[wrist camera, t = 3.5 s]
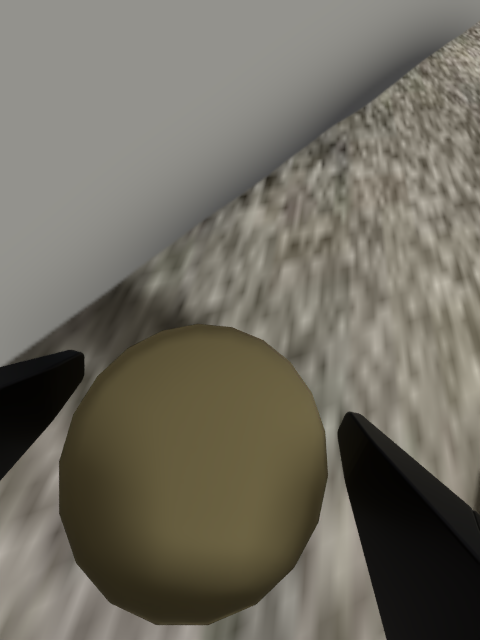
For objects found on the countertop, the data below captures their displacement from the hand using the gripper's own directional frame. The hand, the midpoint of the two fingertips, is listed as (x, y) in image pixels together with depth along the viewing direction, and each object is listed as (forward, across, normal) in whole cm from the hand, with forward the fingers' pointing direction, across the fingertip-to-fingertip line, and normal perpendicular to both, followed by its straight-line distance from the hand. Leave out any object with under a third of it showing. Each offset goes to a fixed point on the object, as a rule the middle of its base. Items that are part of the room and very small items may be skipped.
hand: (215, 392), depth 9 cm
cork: (+4, 0, +6) cm, 7 cm away
